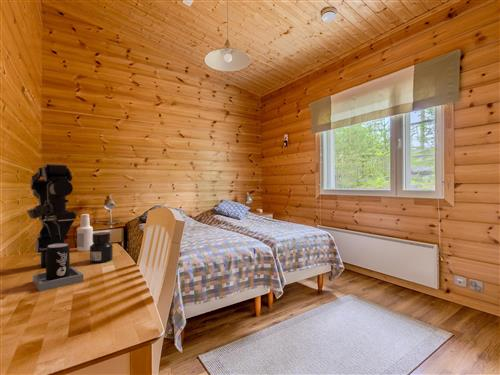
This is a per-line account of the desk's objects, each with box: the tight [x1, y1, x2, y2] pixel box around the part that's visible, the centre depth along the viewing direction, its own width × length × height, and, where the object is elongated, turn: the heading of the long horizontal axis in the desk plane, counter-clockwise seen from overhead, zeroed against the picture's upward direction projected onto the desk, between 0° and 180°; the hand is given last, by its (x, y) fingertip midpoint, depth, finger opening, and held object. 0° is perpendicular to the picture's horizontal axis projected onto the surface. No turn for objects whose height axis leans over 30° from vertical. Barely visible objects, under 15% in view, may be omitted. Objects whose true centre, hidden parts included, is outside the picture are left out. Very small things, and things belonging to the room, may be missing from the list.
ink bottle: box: [89, 231, 114, 264], centre depth 116 cm, size 10×9×12 cm
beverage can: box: [45, 242, 71, 281], centre depth 91 cm, size 7×7×12 cm
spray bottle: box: [76, 213, 94, 252], centre depth 134 cm, size 7×7×18 cm
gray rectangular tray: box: [32, 266, 84, 292], centre depth 91 cm, size 12×12×2 cm
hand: (57, 239), depth 98 cm, fingers open, 9 cm apart
